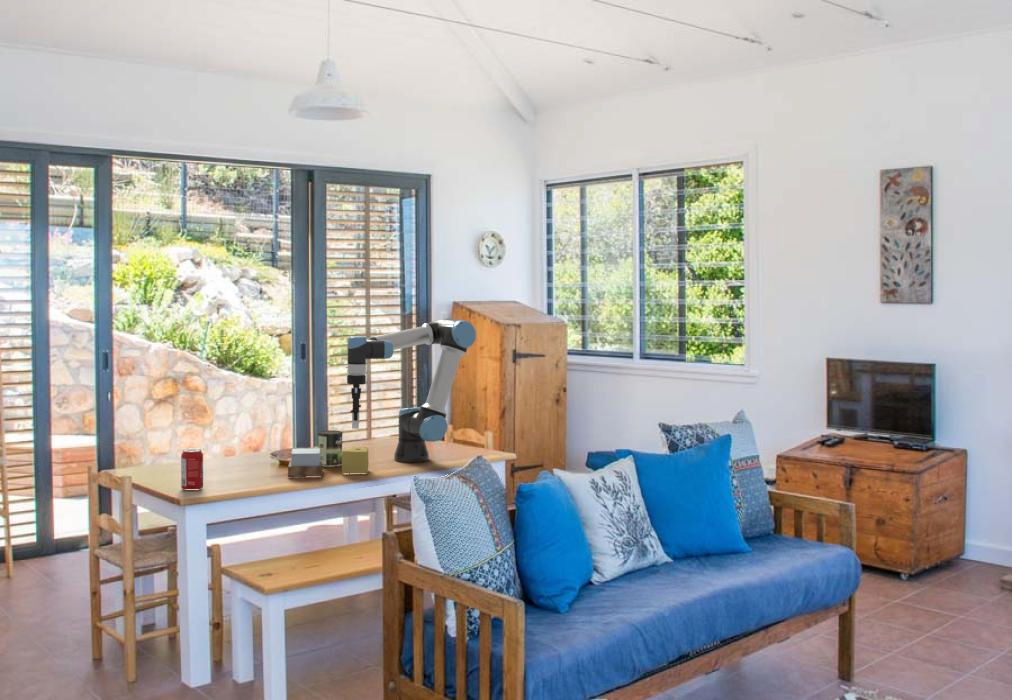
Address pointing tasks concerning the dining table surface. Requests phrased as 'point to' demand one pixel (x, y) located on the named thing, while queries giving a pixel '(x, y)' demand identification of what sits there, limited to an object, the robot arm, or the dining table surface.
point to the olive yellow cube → (355, 460)
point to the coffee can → (330, 447)
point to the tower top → (305, 457)
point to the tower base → (304, 470)
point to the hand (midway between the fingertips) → (355, 426)
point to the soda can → (192, 469)
